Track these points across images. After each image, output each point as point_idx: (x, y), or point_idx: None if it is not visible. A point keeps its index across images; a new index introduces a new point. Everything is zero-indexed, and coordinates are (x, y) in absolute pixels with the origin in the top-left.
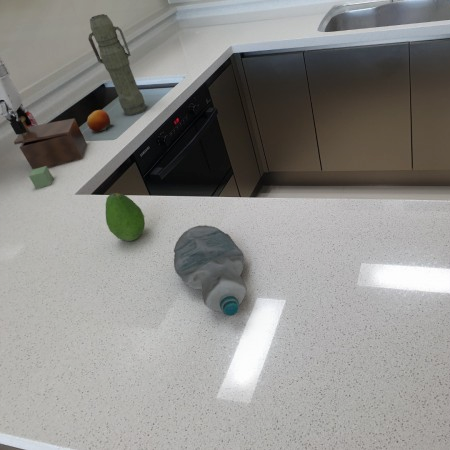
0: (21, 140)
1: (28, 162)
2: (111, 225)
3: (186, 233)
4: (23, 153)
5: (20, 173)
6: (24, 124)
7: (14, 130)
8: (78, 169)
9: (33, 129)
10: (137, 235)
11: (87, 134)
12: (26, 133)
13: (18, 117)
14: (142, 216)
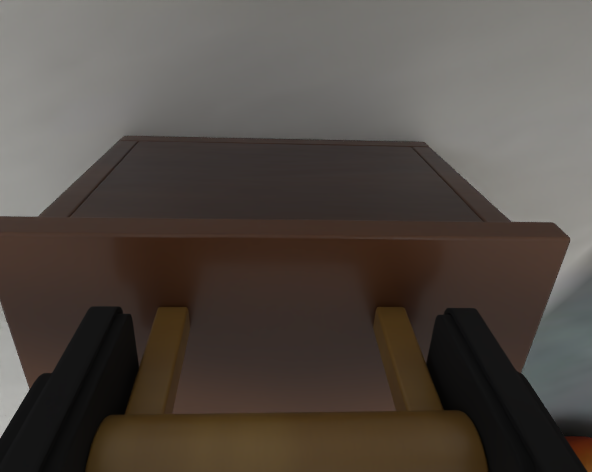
0: (15, 318)
1: (97, 161)
2: None
3: None
4: (60, 198)
5: (162, 11)
6: (394, 391)
7: (69, 355)
8: (11, 413)
9: (378, 372)
10: None
11: (560, 395)
12: (274, 324)
13: (499, 458)
14: None
